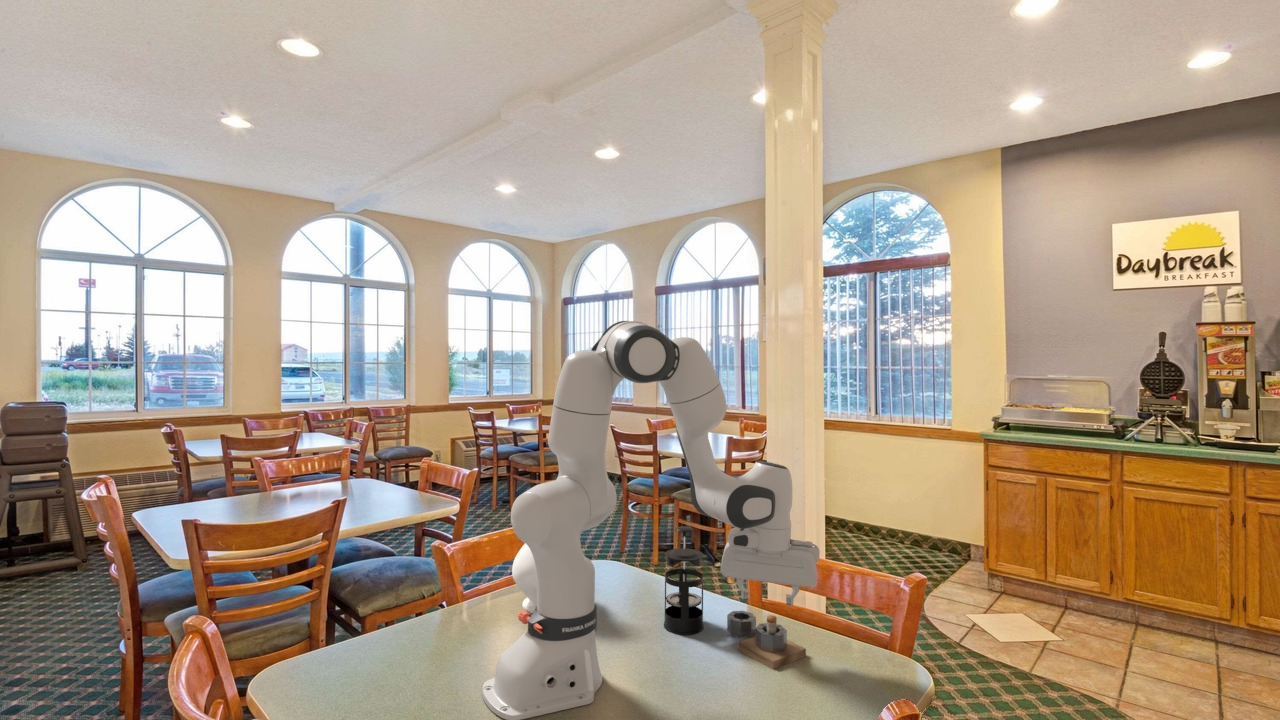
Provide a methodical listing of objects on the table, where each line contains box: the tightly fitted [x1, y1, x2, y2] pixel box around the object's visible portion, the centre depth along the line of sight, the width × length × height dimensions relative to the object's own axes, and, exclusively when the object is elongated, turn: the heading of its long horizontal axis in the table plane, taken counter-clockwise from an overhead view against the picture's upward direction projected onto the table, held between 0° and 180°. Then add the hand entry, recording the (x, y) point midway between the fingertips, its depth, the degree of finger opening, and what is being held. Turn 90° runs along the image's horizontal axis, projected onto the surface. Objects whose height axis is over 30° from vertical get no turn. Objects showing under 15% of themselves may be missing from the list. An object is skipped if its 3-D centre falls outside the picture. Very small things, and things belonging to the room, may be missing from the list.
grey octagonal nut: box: [755, 622, 788, 653], centre depth 128 cm, size 6×6×4 cm
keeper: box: [737, 614, 807, 670], centre depth 128 cm, size 10×10×8 cm
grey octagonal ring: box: [726, 610, 757, 638], centre depth 138 cm, size 6×6×4 cm
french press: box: [663, 526, 705, 636], centre depth 141 cm, size 12×9×23 cm
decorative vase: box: [511, 543, 537, 614], centre depth 153 cm, size 18×18×25 cm
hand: (767, 601), depth 129 cm, fingers open, 8 cm apart
